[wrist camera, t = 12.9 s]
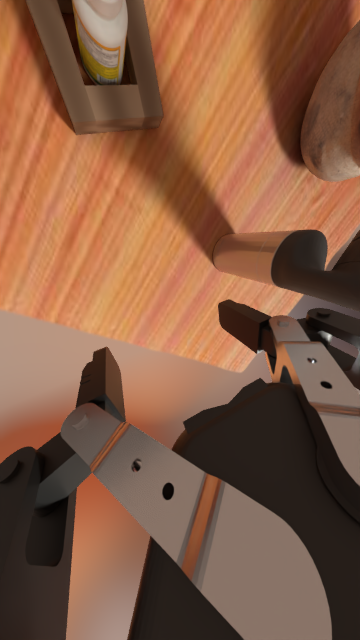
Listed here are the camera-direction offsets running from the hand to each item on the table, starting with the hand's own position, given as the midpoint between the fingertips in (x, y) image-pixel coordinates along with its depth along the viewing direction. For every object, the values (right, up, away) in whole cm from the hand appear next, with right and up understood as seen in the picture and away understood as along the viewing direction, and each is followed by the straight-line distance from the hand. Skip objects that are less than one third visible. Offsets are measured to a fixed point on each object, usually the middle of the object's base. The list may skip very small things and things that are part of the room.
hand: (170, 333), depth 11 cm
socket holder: (-10, +36, +11) cm, 39 cm away
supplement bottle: (-10, +36, +11) cm, 39 cm away
